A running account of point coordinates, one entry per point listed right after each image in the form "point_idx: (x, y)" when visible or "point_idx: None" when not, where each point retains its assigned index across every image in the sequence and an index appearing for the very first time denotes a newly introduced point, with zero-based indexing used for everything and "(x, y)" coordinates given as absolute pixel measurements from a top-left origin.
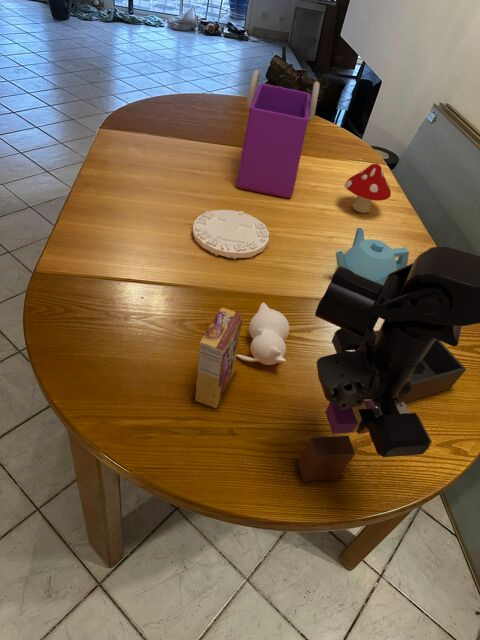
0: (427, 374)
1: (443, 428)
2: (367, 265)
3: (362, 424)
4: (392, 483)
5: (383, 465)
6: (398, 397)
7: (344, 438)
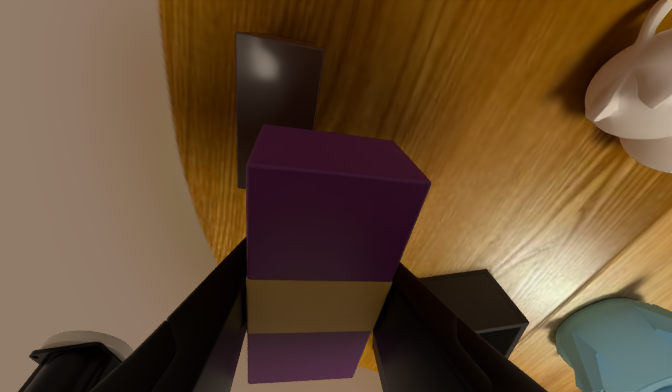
0: None
1: None
2: (642, 361)
3: (192, 321)
4: (240, 227)
5: None
6: None
7: None
